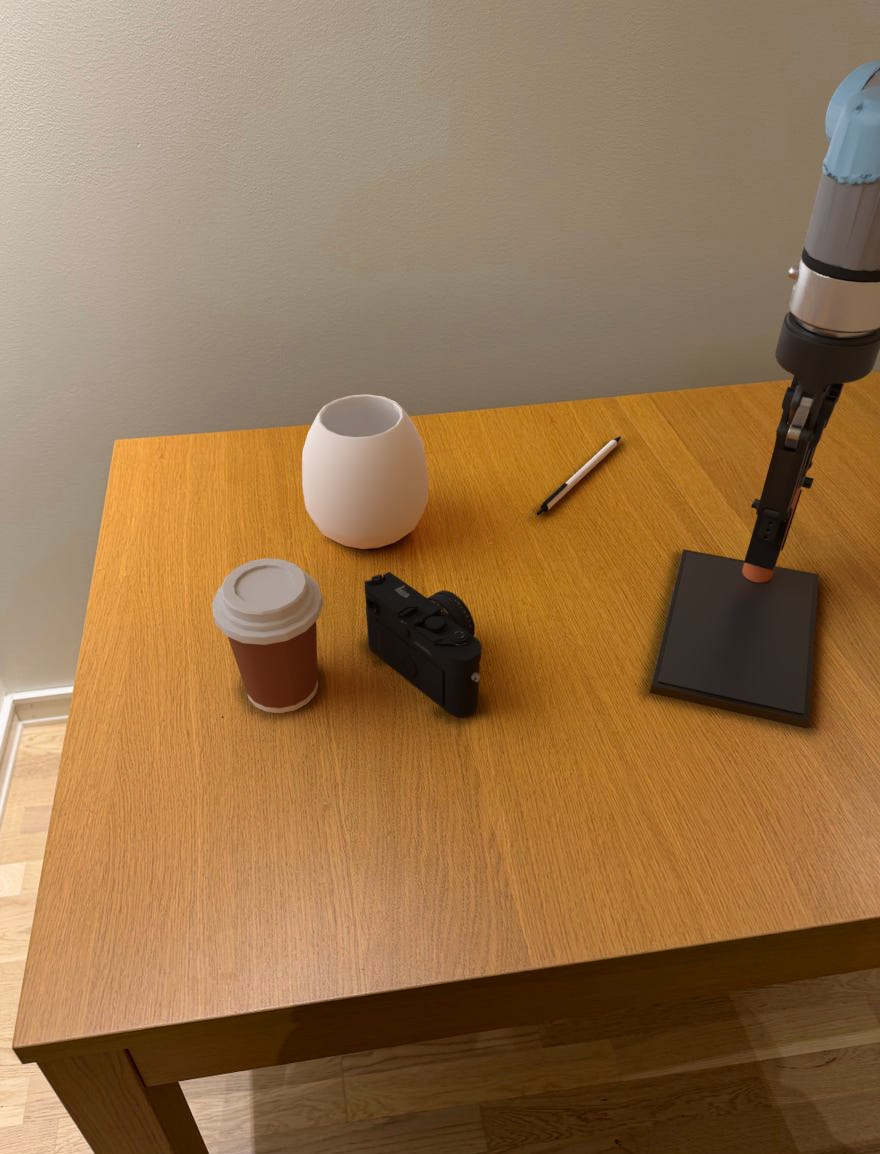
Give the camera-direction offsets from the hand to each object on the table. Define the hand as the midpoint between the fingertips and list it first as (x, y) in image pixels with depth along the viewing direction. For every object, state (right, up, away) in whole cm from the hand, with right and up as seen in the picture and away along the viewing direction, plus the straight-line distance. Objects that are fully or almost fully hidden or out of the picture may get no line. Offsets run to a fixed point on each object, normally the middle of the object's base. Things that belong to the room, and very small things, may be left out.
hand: (764, 553), depth 88 cm
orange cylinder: (0, -2, +2) cm, 3 cm away
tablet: (-4, -8, -3) cm, 9 cm away
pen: (-14, +10, +17) cm, 24 cm away
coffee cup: (-45, -13, -5) cm, 47 cm away
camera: (-32, -11, -4) cm, 34 cm away
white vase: (-38, +4, +12) cm, 40 cm away
